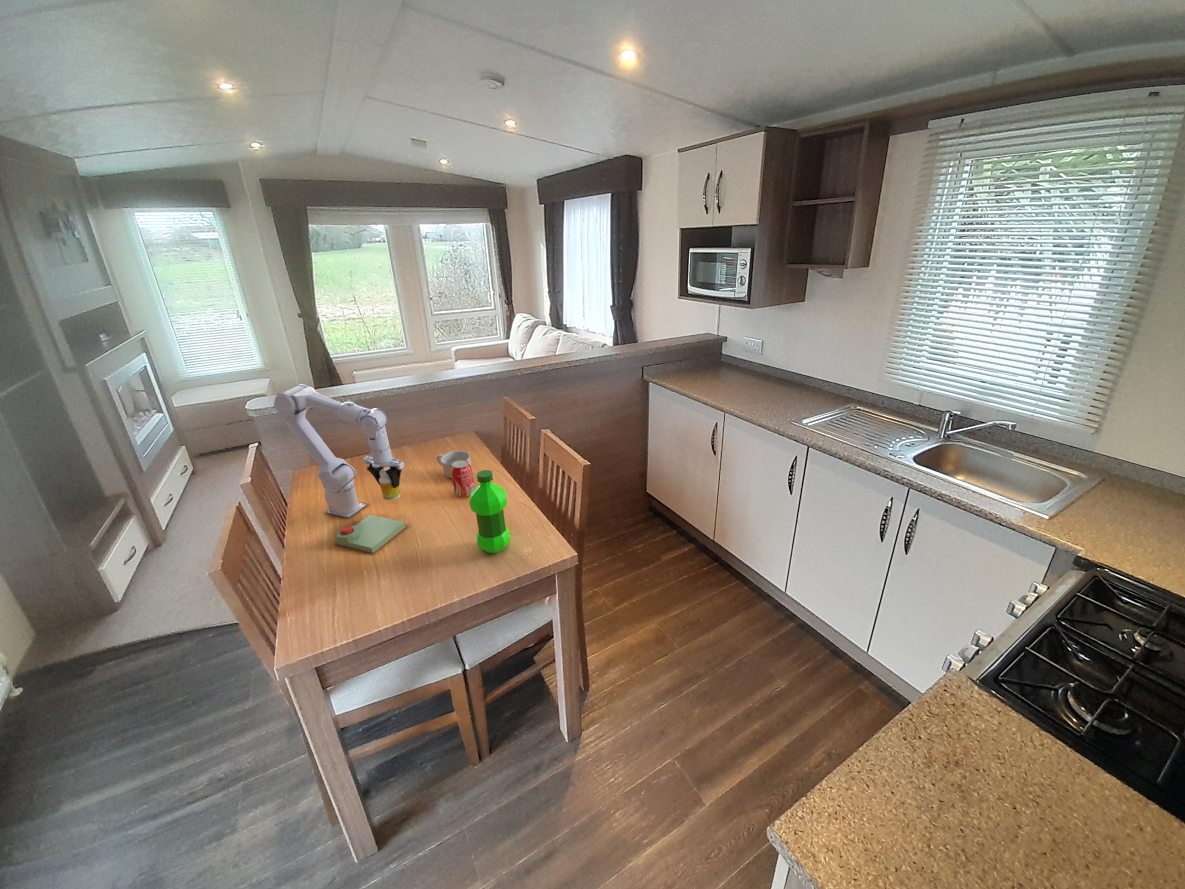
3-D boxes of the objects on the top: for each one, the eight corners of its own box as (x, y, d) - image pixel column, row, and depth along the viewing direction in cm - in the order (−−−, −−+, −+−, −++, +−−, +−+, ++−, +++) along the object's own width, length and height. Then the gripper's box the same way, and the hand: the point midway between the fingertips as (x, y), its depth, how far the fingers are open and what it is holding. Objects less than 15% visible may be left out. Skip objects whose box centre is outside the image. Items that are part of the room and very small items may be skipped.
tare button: (339, 534, 144) (338, 530, 143) (347, 528, 146) (346, 524, 146) (347, 536, 143) (345, 532, 142) (354, 530, 145) (353, 526, 145)
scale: (334, 544, 144) (331, 535, 143) (370, 519, 157) (368, 510, 155) (371, 554, 140) (369, 544, 138) (405, 527, 152) (403, 518, 150)
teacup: (478, 472, 184) (475, 453, 181) (457, 484, 176) (454, 465, 172) (453, 464, 191) (450, 446, 187) (432, 475, 183) (428, 457, 179)
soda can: (456, 488, 173) (451, 459, 168) (476, 487, 173) (472, 458, 168) (453, 499, 167) (448, 468, 161) (473, 497, 167) (469, 467, 162)
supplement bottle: (394, 501, 155) (388, 475, 151) (380, 500, 156) (373, 474, 152) (403, 493, 159) (398, 467, 155) (389, 491, 160) (383, 466, 156)
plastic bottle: (518, 550, 139) (509, 475, 129) (484, 563, 134) (472, 486, 124) (505, 533, 147) (495, 461, 136) (472, 545, 142) (459, 471, 132)
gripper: (352, 450, 149) (362, 487, 155) (389, 456, 144) (398, 494, 150) (369, 441, 155) (378, 477, 161) (405, 446, 150) (413, 484, 156)
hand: (389, 485), depth 156 cm, fingers closed on supplement bottle, 5 cm apart
